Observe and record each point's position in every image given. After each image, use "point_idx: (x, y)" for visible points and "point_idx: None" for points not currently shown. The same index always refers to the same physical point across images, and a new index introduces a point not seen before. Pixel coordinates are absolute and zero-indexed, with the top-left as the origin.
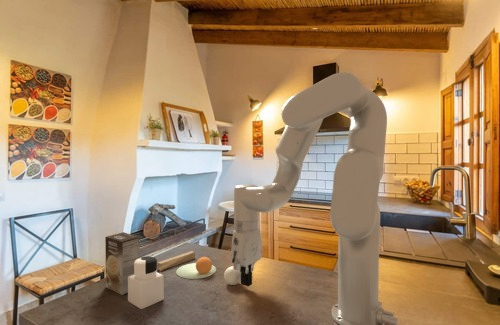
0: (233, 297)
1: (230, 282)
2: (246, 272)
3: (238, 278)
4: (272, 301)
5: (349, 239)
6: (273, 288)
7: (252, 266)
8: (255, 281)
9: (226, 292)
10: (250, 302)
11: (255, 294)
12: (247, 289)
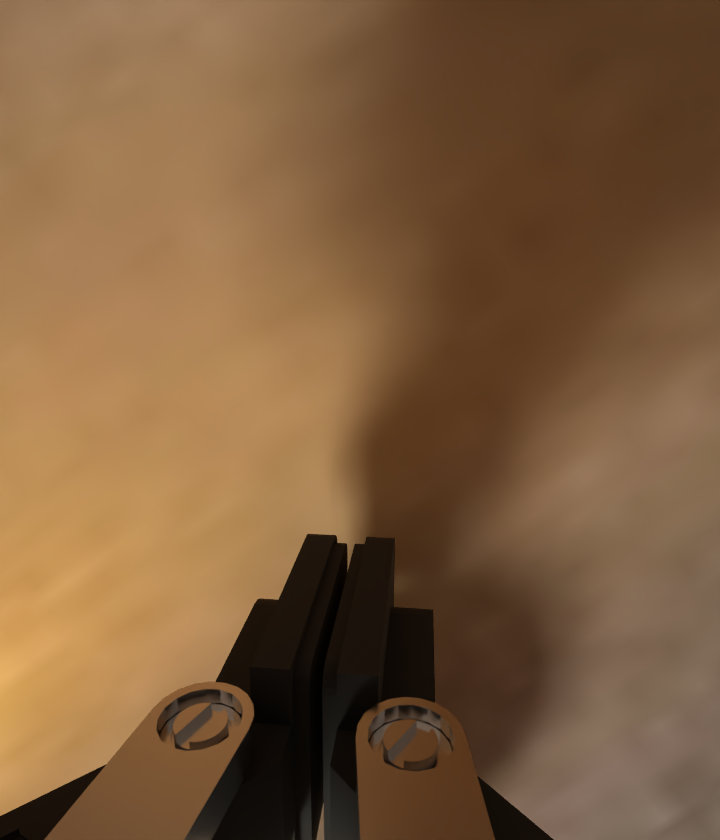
0: (668, 572)
1: None
2: (439, 739)
3: None
4: (432, 12)
5: None
6: (79, 265)
7: (155, 783)
8: (96, 596)
9: (599, 720)
10: (662, 289)
11: (406, 376)
12: None
